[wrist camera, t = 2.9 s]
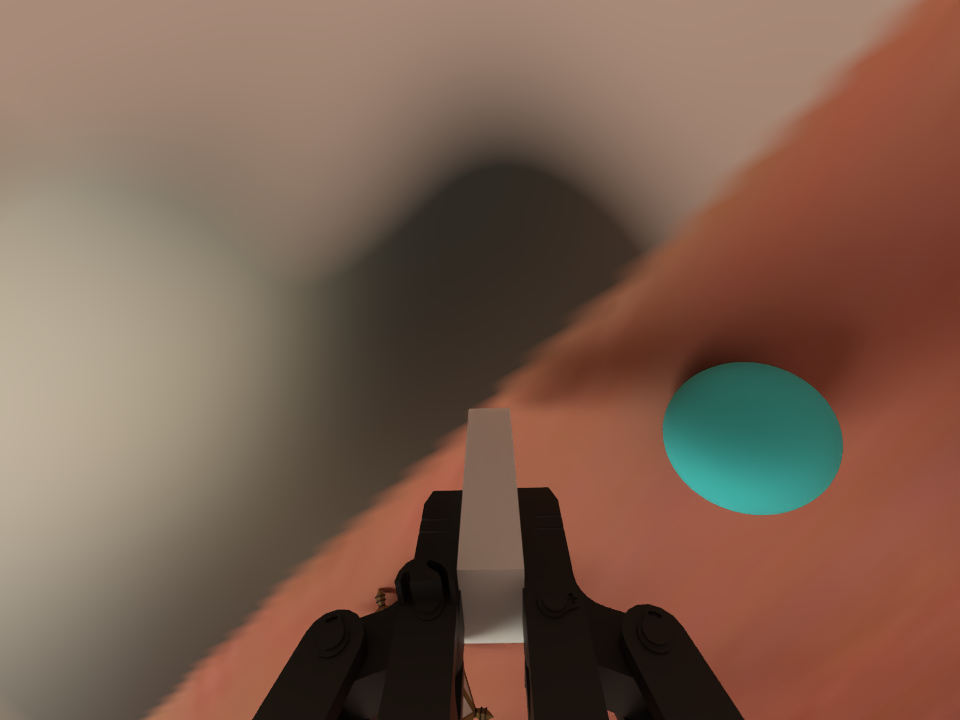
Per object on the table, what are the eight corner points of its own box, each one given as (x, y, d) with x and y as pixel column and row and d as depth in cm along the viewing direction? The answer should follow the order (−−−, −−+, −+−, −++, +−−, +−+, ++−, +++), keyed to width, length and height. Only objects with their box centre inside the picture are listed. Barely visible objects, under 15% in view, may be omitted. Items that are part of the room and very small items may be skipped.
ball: (756, 447, 19) (855, 549, 14) (635, 450, 19) (689, 552, 14) (790, 336, 16) (923, 410, 11) (651, 341, 16) (722, 417, 12)
